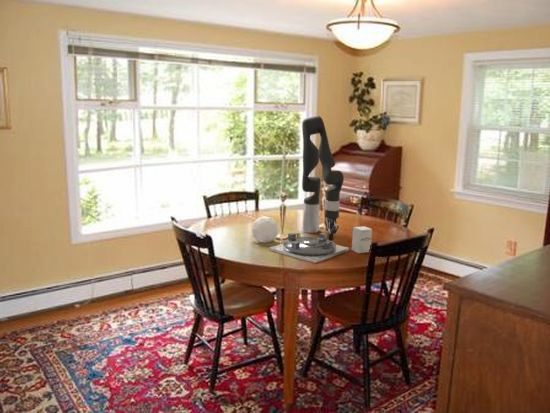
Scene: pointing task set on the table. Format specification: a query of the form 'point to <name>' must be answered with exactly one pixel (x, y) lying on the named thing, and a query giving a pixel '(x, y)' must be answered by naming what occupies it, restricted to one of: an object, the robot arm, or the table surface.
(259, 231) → the white ball
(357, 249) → the supplement box
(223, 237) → the table surface
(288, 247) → the grey flat round piece
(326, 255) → the base plate
